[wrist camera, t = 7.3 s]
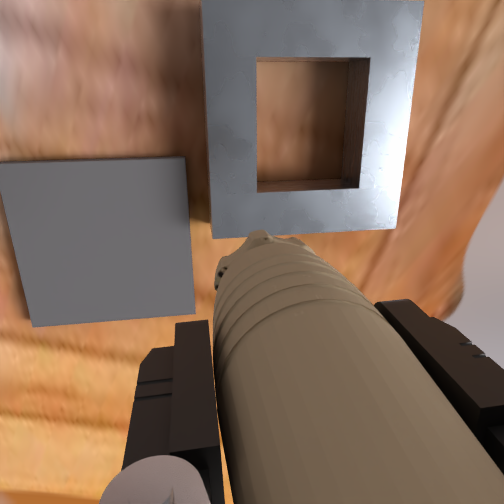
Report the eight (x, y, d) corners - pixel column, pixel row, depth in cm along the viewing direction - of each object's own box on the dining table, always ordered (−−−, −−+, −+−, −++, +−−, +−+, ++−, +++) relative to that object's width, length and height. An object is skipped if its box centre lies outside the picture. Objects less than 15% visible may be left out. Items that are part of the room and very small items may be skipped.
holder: (199, 8, 25) (201, -5, 22) (395, 12, 27) (424, 0, 24) (209, 223, 30) (212, 238, 27) (374, 214, 32) (395, 228, 29)
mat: (0, 161, 27) (-7, 164, 26) (185, 156, 28) (184, 158, 27) (37, 320, 31) (32, 327, 30) (195, 307, 33) (195, 313, 32)
